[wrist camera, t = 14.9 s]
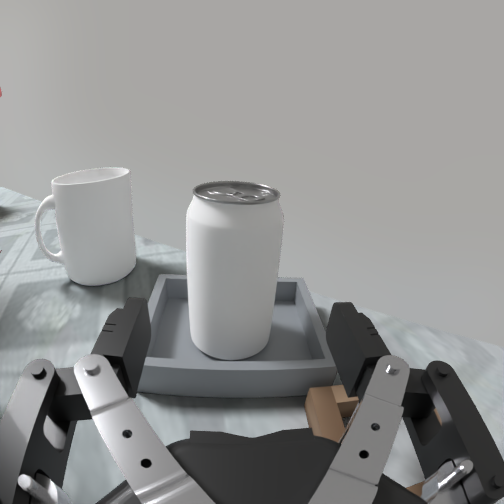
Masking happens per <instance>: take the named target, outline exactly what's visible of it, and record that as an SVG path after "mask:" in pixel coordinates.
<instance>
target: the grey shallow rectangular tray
mask: <svg viewBox="0 0 504 504" xmlns="http://www.w3.org/2000/svg"><path fill="white" fill-rule="evenodd" d="M148 310H149V317H150V324H151V341H150V344H149V348H148V352H147V355H146V359H145V363H144V366H143V370H142V374H141V378H140V382H139V386H138V390H137V392H145V393H154V394H165V395H177V396H193V397H218V398H262V397H287V396H303V395H307V394H308V391H309V388H314V387H326V386H332V384H333V382H334V379H335V377H336V374H337V371H338V370H337V368H336V365H335V363H334V360H333V357H332V355H331V352H330V350H329V347H328V345H327V341H326V331H325V329H324V326H323V324H322V322H321V319H320V317H319V314H318V312H317V309H316V307H315V305H314V302H313V300H312V297H311V295H310V293H309V290H308V288H307V286H306V283H305V281H304V279H303V278H284V277H283V278H282V277H281V278H280V277H278V278H277V286H276V294H275V301H274V309H273V316H272V323H271V330H270V336H269V340H268V343H267V345H266V346H265V347H264V348H263V349H262V350H261V351H260V352H259V353H257V354H255V355H253V356H251V357H249V358H246V359H243V360H237V361H226V360H220V359H216V358H213V357H211V356H209V355H207V354H205V353H204V352H202V351H201V350H200V349H198V348H197V347H196V345H195V344H194V343H193V341H192V338H191V333H190V321H189V305H188V285H187V275H176V274H159V276H158V278H157V281H156V284H155V286H154V289H153V291H152V294H151V296H150V299H149V302H148Z"/></svg>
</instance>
